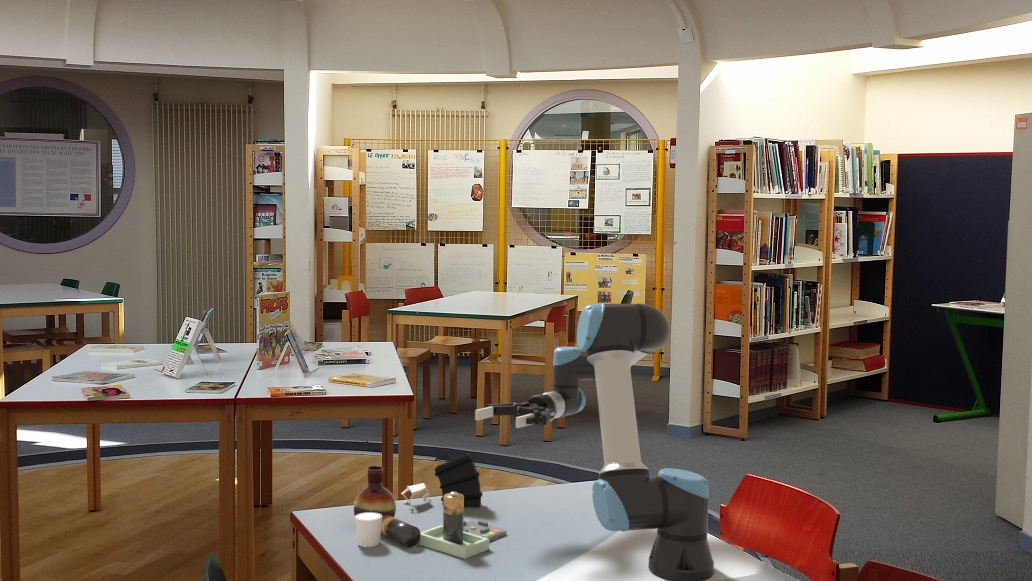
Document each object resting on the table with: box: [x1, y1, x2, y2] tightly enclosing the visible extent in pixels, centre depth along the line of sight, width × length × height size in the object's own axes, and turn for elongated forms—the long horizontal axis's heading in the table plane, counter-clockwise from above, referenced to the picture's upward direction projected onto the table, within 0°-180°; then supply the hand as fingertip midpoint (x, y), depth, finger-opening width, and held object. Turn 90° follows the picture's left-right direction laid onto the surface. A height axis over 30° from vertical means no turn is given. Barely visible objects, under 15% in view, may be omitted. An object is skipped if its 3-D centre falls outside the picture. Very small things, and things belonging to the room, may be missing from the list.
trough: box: [416, 524, 490, 560], centre depth 231 cm, size 16×9×3 cm, turn 52°
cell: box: [442, 492, 465, 545], centre depth 230 cm, size 5×5×13 cm
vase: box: [353, 465, 397, 518], centre depth 246 cm, size 11×11×15 cm
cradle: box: [463, 520, 507, 542], centre depth 240 cm, size 12×9×2 cm
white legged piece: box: [400, 482, 430, 510], centre depth 264 cm, size 12×8×5 cm
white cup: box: [354, 512, 383, 547], centre depth 232 cm, size 7×7×7 cm
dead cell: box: [381, 515, 421, 548], centre depth 234 cm, size 13×5×5 cm, turn 42°
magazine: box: [433, 452, 483, 509], centre depth 264 cm, size 4×13×15 cm, turn 83°
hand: (496, 419), depth 239 cm, fingers open, 13 cm apart
